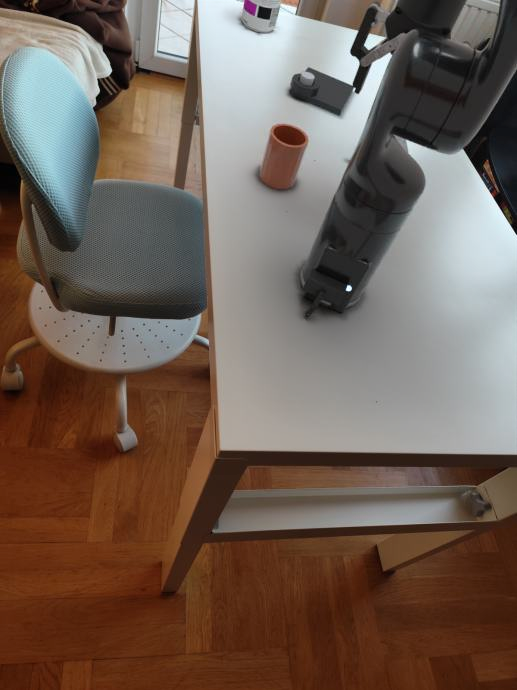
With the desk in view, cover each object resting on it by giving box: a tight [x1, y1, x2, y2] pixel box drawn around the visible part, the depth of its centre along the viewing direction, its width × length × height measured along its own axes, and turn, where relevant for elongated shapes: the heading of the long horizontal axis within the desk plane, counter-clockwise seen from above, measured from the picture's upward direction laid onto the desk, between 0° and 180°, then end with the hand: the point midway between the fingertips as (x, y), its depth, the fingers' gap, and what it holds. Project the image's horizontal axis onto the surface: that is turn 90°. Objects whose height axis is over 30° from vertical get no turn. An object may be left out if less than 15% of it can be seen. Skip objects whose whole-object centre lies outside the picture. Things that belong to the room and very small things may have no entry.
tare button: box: [299, 71, 315, 86], centre depth 98 cm, size 3×3×2 cm
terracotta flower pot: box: [258, 123, 310, 190], centre depth 80 cm, size 6×6×8 cm
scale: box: [289, 66, 355, 117], centre depth 102 cm, size 13×12×3 cm
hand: (385, 103), depth 69 cm, fingers open, 8 cm apart
